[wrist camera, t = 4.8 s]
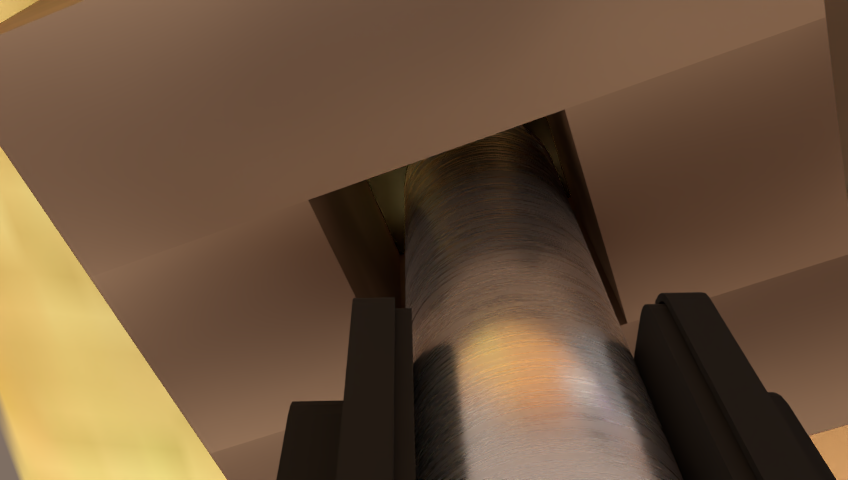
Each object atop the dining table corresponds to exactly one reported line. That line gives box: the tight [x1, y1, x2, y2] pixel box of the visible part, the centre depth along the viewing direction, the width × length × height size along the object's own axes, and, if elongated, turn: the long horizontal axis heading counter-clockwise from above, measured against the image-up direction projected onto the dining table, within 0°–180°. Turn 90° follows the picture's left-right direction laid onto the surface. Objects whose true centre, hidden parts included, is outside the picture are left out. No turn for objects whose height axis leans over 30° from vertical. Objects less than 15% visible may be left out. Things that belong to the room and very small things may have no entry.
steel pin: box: [404, 125, 683, 480], centre depth 10 cm, size 4×4×14 cm
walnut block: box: [0, 0, 848, 480], centre depth 16 cm, size 12×12×5 cm
